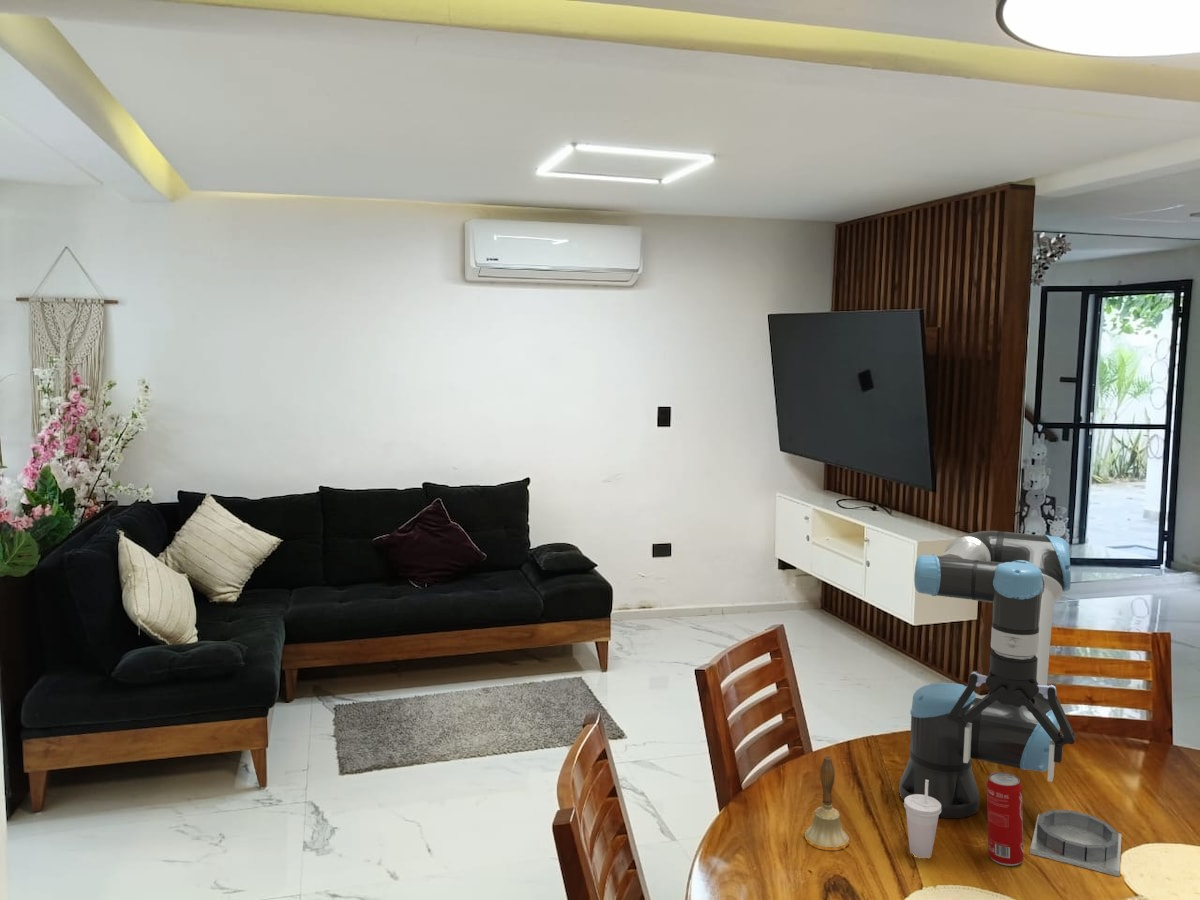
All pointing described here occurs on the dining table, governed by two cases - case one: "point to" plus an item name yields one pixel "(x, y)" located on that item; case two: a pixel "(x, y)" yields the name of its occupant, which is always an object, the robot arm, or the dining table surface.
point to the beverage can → (1005, 819)
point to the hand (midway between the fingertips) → (1007, 769)
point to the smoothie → (922, 822)
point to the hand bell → (827, 813)
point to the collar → (1077, 841)
